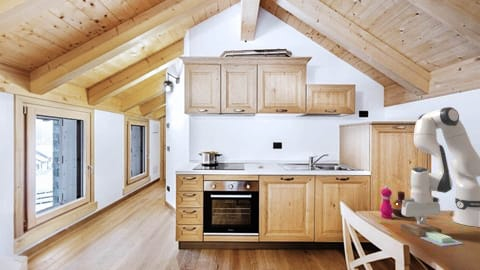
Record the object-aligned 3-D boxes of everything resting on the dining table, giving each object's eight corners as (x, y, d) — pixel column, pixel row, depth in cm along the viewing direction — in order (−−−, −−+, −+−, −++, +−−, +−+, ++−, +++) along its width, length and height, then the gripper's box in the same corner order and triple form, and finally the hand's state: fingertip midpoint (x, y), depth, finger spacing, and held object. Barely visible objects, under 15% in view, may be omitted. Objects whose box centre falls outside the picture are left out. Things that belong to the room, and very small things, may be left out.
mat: (441, 235, 141) (441, 234, 141) (463, 244, 129) (463, 243, 129) (420, 237, 138) (420, 237, 138) (441, 246, 127) (441, 245, 127)
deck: (421, 227, 153) (421, 222, 153) (441, 235, 141) (441, 229, 141) (400, 229, 150) (400, 224, 150) (419, 237, 138) (419, 231, 138)
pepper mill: (386, 219, 168) (386, 187, 168) (377, 216, 175) (377, 185, 175) (395, 218, 170) (395, 186, 170) (386, 215, 177) (386, 184, 177)
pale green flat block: (435, 235, 140) (434, 231, 140) (452, 241, 132) (451, 237, 132) (425, 236, 139) (425, 232, 139) (441, 242, 130) (441, 238, 130)
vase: (403, 219, 169) (403, 194, 169) (387, 214, 179) (387, 191, 179) (415, 217, 173) (415, 192, 173) (399, 212, 183) (399, 189, 183)
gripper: (406, 200, 142) (407, 226, 141) (442, 198, 144) (442, 224, 144) (398, 197, 148) (398, 223, 148) (432, 196, 150) (433, 221, 150)
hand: (420, 223), depth 146 cm, fingers closed
